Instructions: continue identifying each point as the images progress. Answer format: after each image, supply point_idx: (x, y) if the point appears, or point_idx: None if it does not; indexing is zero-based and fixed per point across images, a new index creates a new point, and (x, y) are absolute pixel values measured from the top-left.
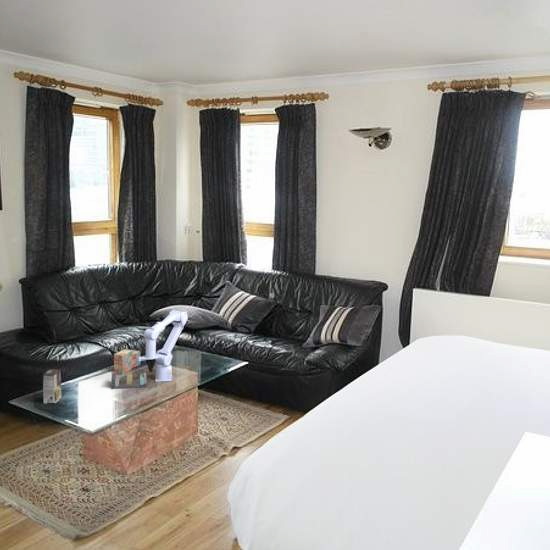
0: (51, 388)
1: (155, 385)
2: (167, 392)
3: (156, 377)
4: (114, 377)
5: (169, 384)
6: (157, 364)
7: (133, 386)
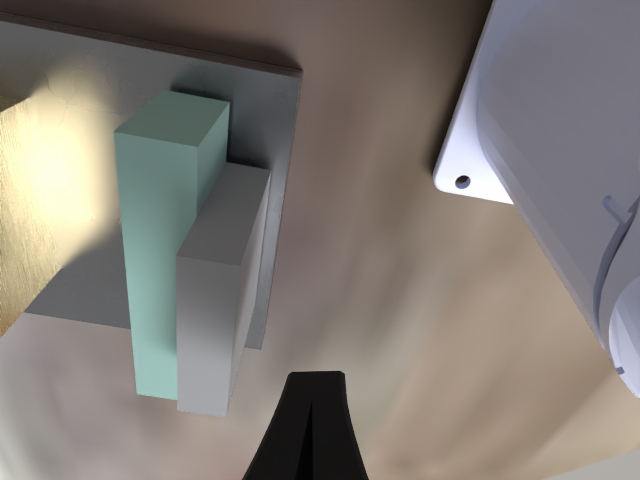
0: None
1: (380, 302)
2: (429, 473)
3: (486, 135)
4: None
5: (567, 319)
6: None
7: (86, 320)
